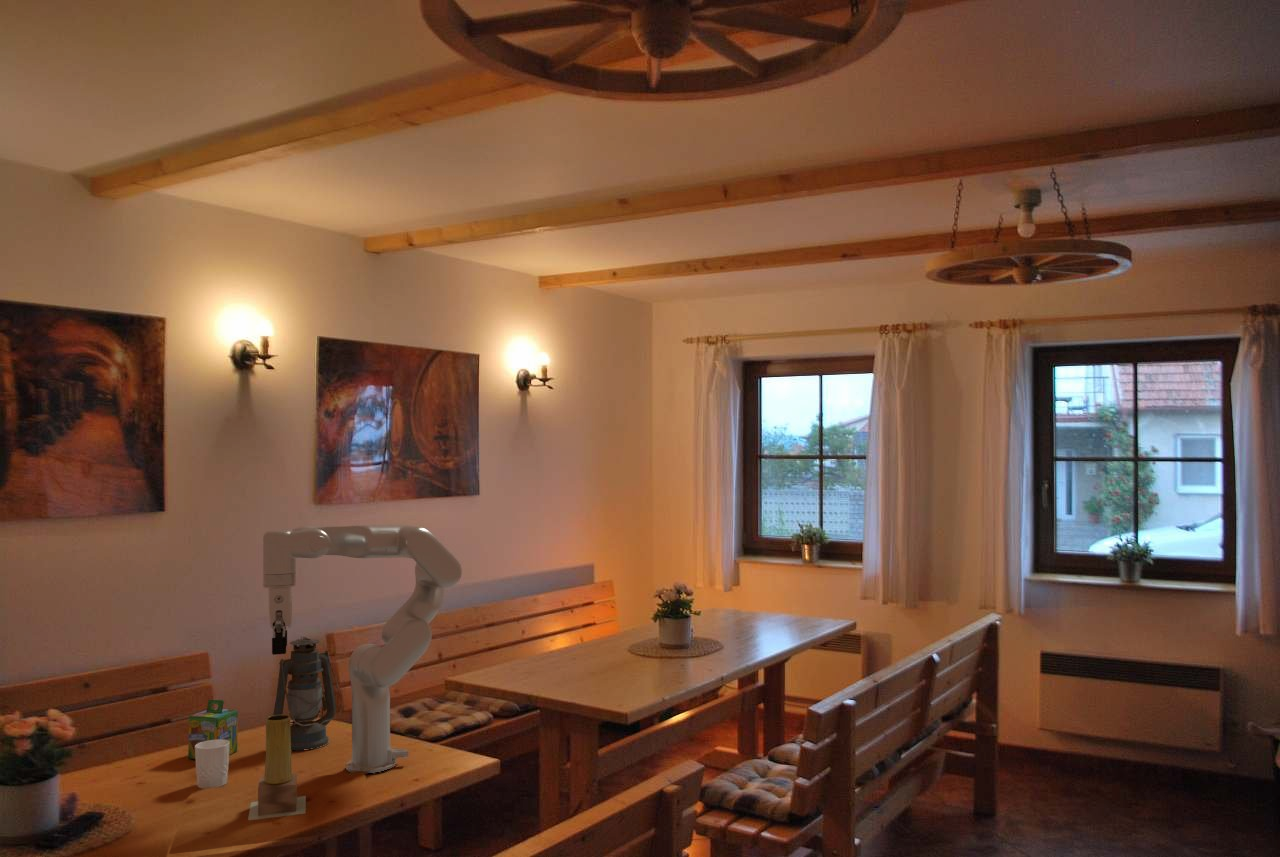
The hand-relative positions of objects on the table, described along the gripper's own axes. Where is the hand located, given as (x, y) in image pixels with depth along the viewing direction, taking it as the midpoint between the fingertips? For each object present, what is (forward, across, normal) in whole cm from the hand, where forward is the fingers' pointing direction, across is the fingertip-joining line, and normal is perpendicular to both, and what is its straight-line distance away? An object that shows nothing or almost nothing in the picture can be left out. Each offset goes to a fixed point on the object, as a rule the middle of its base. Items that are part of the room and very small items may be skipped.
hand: (279, 650), depth 242 cm
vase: (+26, -18, 0) cm, 32 cm away
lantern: (+34, +35, -6) cm, 49 cm away
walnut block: (+32, -18, 0) cm, 37 cm away
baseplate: (+33, -18, 0) cm, 38 cm away
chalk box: (+34, +34, +18) cm, 51 cm away
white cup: (+34, +8, +16) cm, 38 cm away
